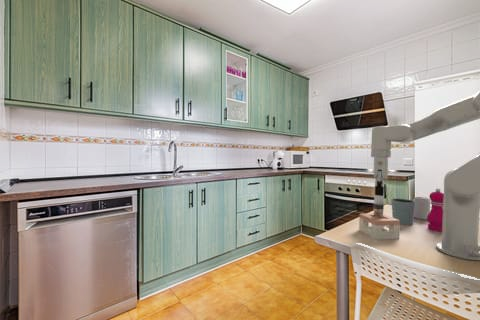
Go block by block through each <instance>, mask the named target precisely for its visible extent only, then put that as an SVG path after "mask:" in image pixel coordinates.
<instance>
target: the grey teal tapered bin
mask: <svg viewBox="0 0 480 320" xmlns="http://www.w3.org/2000/svg"><path fill="white" fill-rule="evenodd" d="M414 207H415V201H413V199H412V200H411V199H406V198H391V210H392V211H391V212H392V216H391V217H392V218H395V219H398V220H400V226H401V225H403V226H413V224H414V215H413V214H414Z"/></svg>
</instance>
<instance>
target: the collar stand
mask: <svg viewBox="0 0 480 320" xmlns="http://www.w3.org/2000/svg"><path fill="white" fill-rule="evenodd" d="M358 220H359V227H358V230H359V231H360V232H361V233H364V234H366V235H367V236H369V237H370V238H373V239H374V240H392V239H393V240H394V239H396V240H398V239H400V231H401V230H400V229H401V228H400V227H401V224H400V220H398V219H395V218H393V216H390V215H388V214H384V213H383V217H378V216H374V212H373V213H372V212H370V213H359V219H358ZM369 223H370V224H369ZM387 226H388V227H387Z"/></svg>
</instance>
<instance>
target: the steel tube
mask: <svg viewBox="0 0 480 320" xmlns="http://www.w3.org/2000/svg"><path fill="white" fill-rule="evenodd" d="M375 186H376V179H374V187H375ZM383 187H384V188H385V180H384V181H383ZM373 193H374V196H373V198H374V199H373V213H374V216H378V217H383V214H384V208H385V206H384V205H385V204H384V202H385V201H384V200H385V192H384V193H383V196H378V195H375V190H374V192H373Z"/></svg>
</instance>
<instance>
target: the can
mask: <svg viewBox="0 0 480 320" xmlns="http://www.w3.org/2000/svg"><path fill="white" fill-rule="evenodd" d="M412 201H415V207H414V214H413V215H414V217H413V219H417V220H421V221H427V216H428V214H429V213H430V211H431V200H430V197H427V196H426V197H425V196H414V198H413V199H412Z"/></svg>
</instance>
